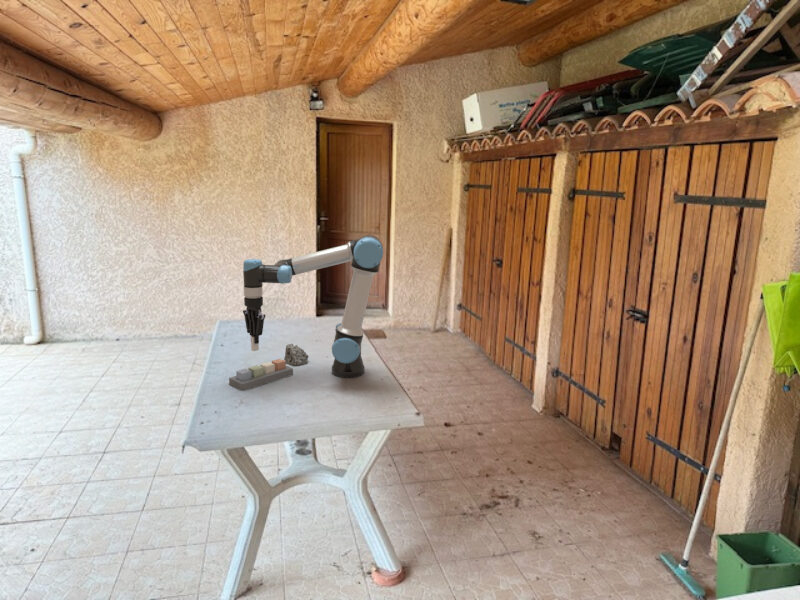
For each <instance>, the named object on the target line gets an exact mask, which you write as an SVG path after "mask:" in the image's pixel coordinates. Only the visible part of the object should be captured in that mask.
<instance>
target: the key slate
mask: <svg viewBox="0 0 800 600" xmlns="http://www.w3.org/2000/svg"><path fill="white" fill-rule="evenodd" d="M235 372H236V373H235V374H236V375H235V376H236V379H238V380H240V381H242V382H243V381H246V380H249V379H251V371H250V370H249V369H247V368H243V369H239V370H236V371H235Z"/></svg>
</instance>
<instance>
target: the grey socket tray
mask: <svg viewBox="0 0 800 600" xmlns="http://www.w3.org/2000/svg"><path fill="white" fill-rule="evenodd" d="M293 375H294V368H293V367H290V366H287V365H286V368H285V369H282V370H279V371H277V370H275V372H272V373H269V374H265V373H263V375H262V376H259V377H256V378H254V377H251V379H249V380H246V381H243V382H242V381H240V380H238V379H236V375H235V376H231V377H228V384H229V386H231V387H234V388H236V389H237V390H239V391H241V392H243V391H244V392H245V391H246V390H250V389H254V388H256V387H260V386H263V385H267V384H268V383H269V384H270V383H272V382H275V381H280V380H282V379H284V378H287V377H291V376H293Z"/></svg>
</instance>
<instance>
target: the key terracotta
mask: <svg viewBox="0 0 800 600" xmlns="http://www.w3.org/2000/svg"><path fill="white" fill-rule="evenodd" d="M271 363H273V364H275V370H277V371H279V370H282V369H285V368H286V366H287V362H286V360H284V359H281V358H278V359H275V360H272V361H271Z"/></svg>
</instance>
